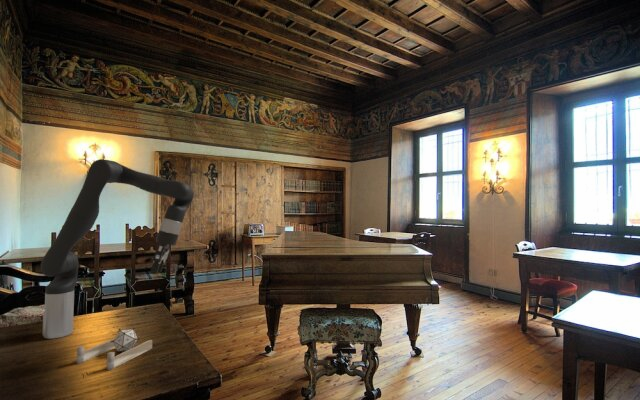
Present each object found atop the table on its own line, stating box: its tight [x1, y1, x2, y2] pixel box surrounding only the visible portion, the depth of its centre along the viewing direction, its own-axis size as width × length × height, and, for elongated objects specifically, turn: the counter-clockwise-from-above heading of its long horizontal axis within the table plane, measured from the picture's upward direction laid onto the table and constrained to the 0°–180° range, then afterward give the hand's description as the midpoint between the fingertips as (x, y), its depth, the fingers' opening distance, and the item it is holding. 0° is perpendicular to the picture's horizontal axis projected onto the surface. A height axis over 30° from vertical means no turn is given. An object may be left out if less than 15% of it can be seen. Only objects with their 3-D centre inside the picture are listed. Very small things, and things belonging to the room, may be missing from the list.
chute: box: [75, 337, 153, 371], centre depth 114 cm, size 15×18×5 cm
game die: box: [110, 326, 140, 355], centre depth 118 cm, size 9×8×10 cm
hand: (155, 272), depth 125 cm, fingers open, 8 cm apart
